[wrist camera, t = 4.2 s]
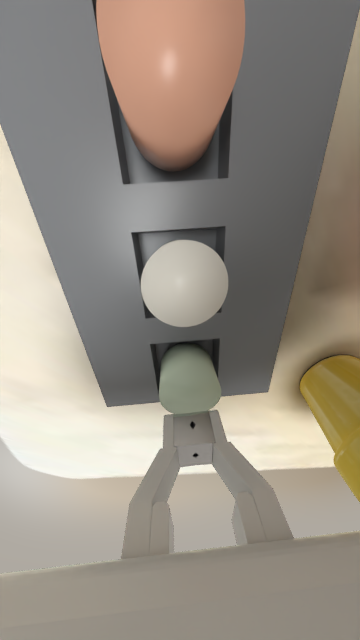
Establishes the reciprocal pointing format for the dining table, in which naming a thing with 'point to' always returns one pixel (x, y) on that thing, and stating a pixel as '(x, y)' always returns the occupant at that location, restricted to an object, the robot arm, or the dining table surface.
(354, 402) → the plant pot
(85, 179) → the button console
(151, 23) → the terracotta button
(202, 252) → the ivory button
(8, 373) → the dining table surface
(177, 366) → the sage button
